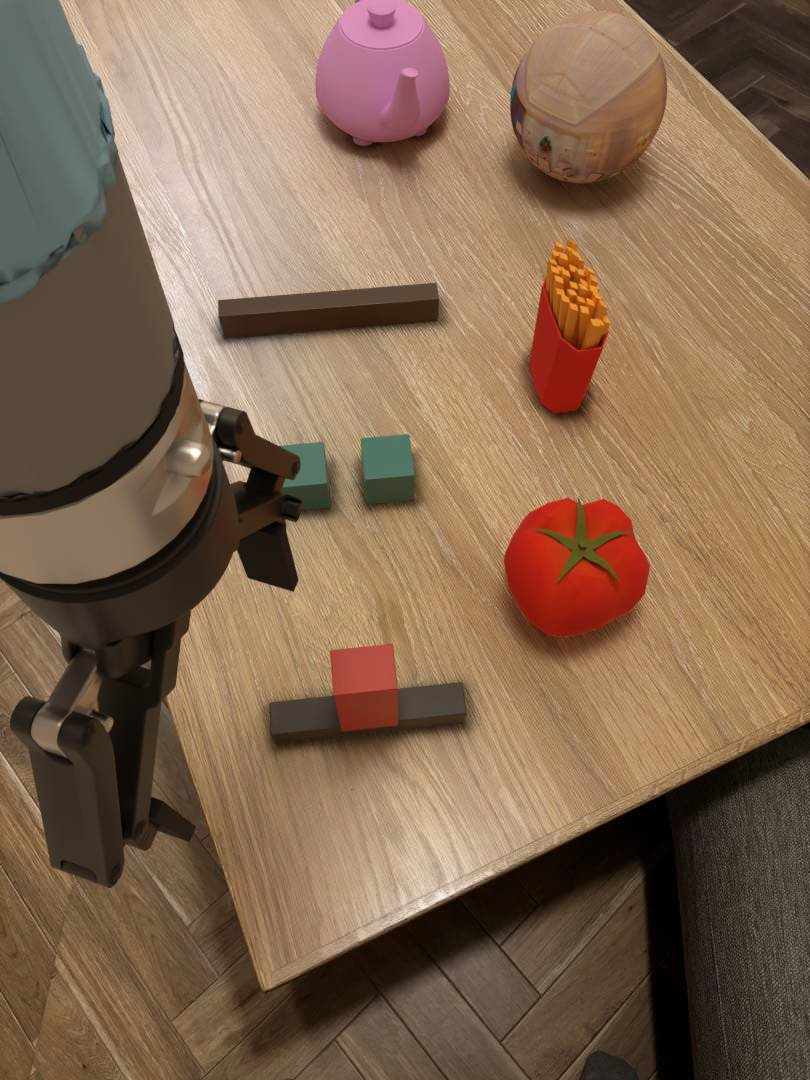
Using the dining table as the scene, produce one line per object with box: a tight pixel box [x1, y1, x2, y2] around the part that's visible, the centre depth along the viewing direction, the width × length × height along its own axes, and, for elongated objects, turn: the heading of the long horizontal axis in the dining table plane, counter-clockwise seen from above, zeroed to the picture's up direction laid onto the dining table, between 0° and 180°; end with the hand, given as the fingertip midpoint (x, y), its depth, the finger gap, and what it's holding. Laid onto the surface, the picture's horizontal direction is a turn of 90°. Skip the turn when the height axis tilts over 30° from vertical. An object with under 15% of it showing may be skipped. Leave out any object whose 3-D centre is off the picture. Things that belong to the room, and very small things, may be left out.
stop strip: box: [217, 282, 440, 340], centre depth 80 cm, size 2×20×3 cm, turn 97°
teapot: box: [314, 0, 451, 147], centre depth 89 cm, size 20×14×12 cm
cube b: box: [360, 433, 416, 505], centre depth 71 cm, size 4×4×4 cm
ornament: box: [509, 10, 668, 184], centre depth 84 cm, size 15×15×15 cm
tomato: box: [503, 496, 651, 638], centre depth 65 cm, size 11×11×9 cm
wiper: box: [268, 643, 468, 744], centre depth 59 cm, size 3×14×11 cm, turn 96°
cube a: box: [279, 441, 332, 511], centre depth 71 cm, size 4×4×4 cm
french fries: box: [528, 238, 611, 414], centre depth 72 cm, size 9×4×13 cm, turn 11°
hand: (223, 694), depth 44 cm, fingers open, 13 cm apart
